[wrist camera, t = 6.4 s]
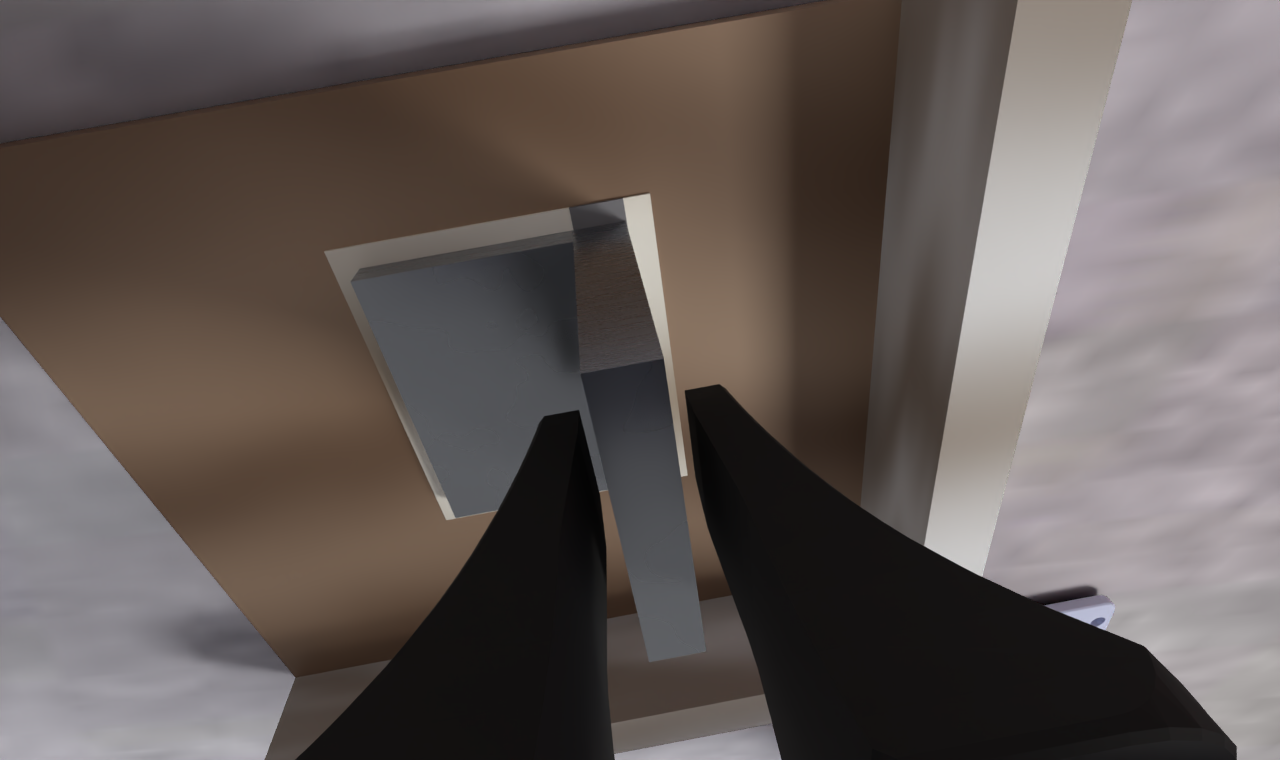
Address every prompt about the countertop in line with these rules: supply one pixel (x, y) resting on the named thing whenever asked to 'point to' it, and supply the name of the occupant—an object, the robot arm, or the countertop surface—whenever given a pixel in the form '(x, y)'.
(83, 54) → the countertop surface
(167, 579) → the countertop surface
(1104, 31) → the arena
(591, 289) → the bracket
